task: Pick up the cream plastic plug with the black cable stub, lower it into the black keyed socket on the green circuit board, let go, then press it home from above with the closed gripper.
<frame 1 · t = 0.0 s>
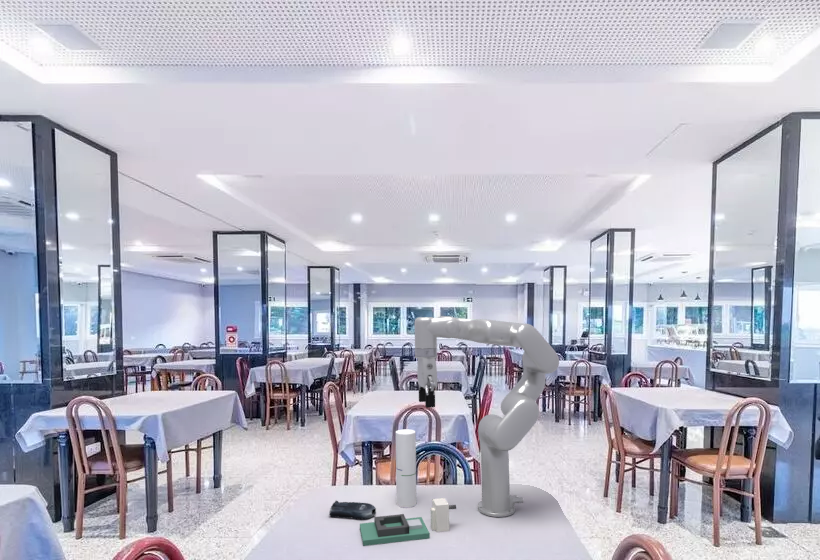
hand: (426, 404, 153), 37 cm above the table, tool pointing down, fingers open, 9 cm apart
electronic device: (353, 515, 153), on the table
keyed plug: (440, 528, 142), on the table
cylindrical container: (406, 504, 161), on the table
circuit board: (393, 533, 139), on the table
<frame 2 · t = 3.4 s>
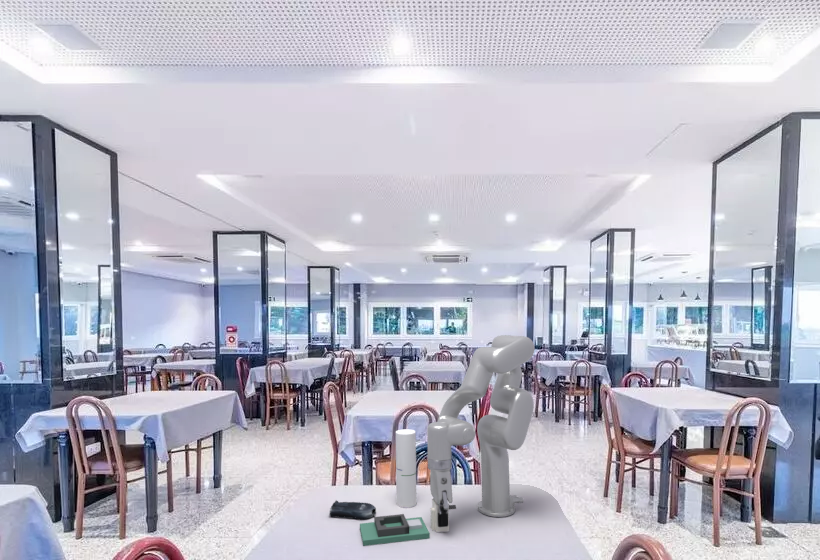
hand: (440, 521, 142), 2 cm above the table, tool pointing down, fingers closed on keyed plug, 4 cm apart
keyed plug: (440, 528, 142), on the table, touching gripper
everything else where it was.
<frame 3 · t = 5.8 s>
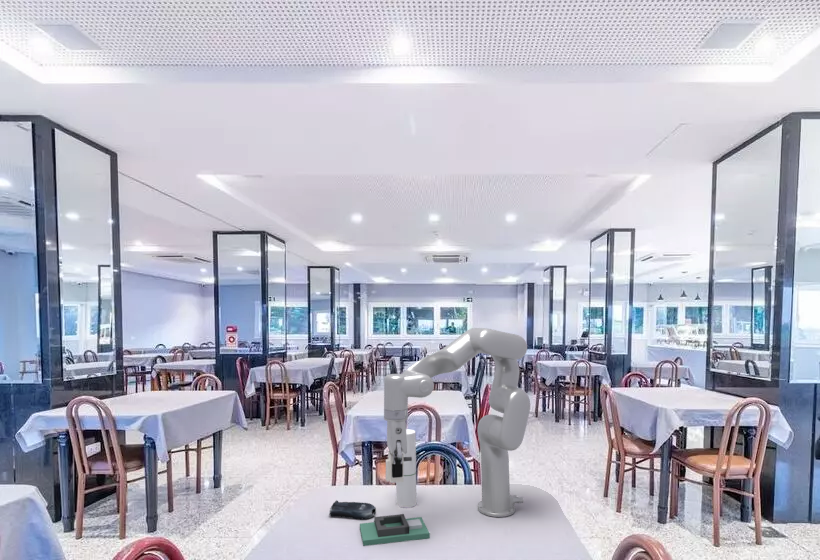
hand: (395, 473, 140), 18 cm above the table, tool pointing down, fingers closed on keyed plug, 4 cm apart
keyed plug: (395, 479, 140), point 16 cm above the table, touching gripper
everything else where it was.
when the fingers open (6 cm above the table, at t = 8.5 s): keyed plug drops 2 cm, resting on circuit board.
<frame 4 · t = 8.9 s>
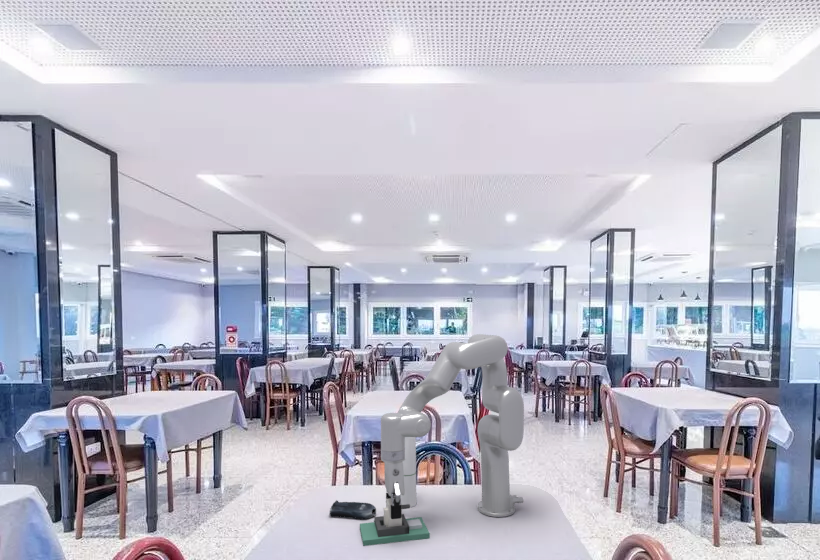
hand: (393, 511, 139), 6 cm above the table, tool pointing down, fingers open, 8 cm apart
keyed plug: (393, 528, 139), point 1 cm above the table, touching circuit board
everything else where it was.
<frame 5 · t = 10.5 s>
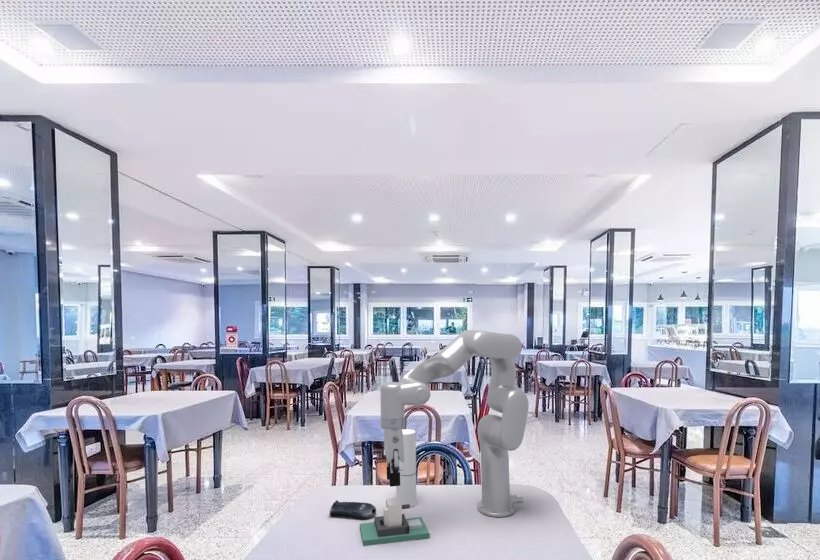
hand: (393, 481, 140), 15 cm above the table, tool pointing down, fingers open, 4 cm apart
nothing on the table moved.
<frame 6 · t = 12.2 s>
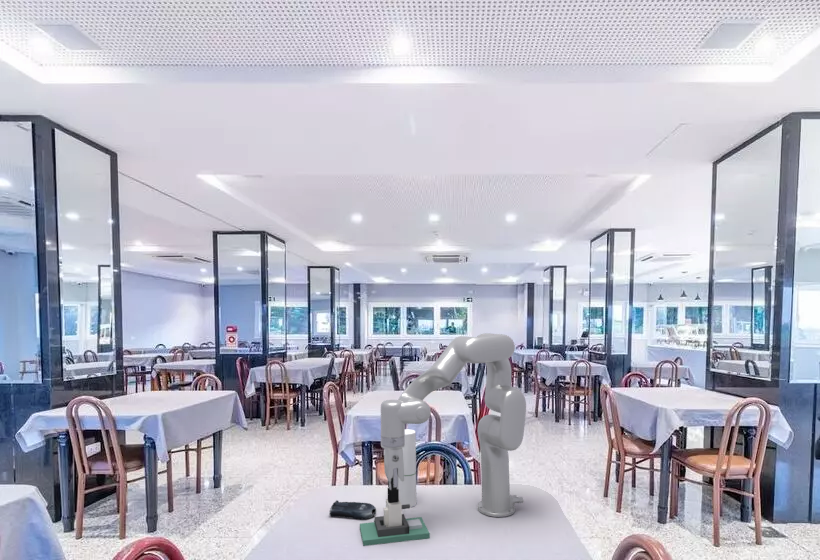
hand: (393, 501, 140), 10 cm above the table, tool pointing down, fingers closed
keyed plug: (393, 528, 139), point 2 cm above the table, touching circuit board, gripper
everything else where it was.
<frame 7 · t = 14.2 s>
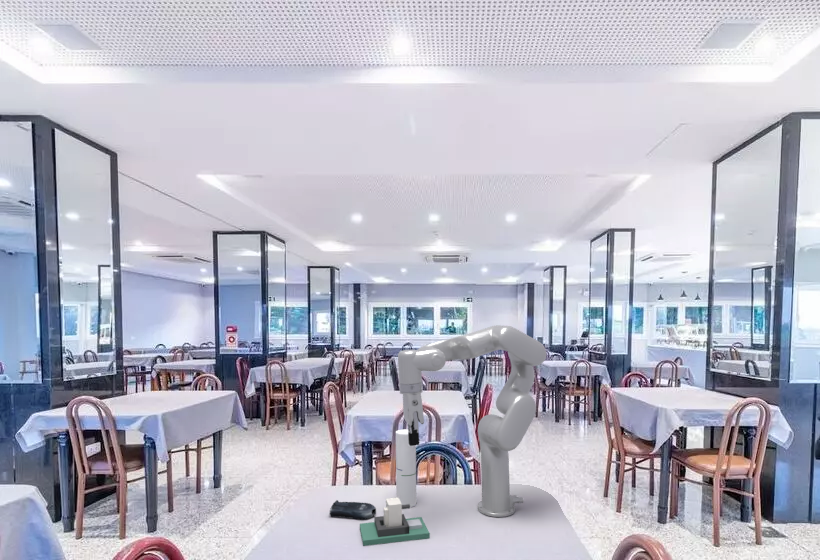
hand: (414, 444, 147), 25 cm above the table, tool pointing down, fingers closed
keyed plug: (393, 528, 139), point 1 cm above the table, touching circuit board
everything else where it was.
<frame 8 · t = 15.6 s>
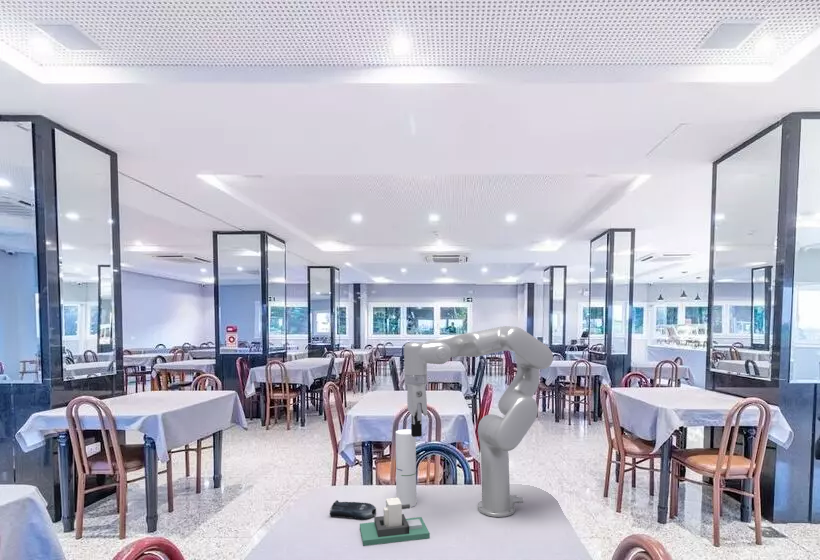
hand: (416, 435, 149), 27 cm above the table, tool pointing down, fingers closed
nothing on the table moved.
at the end: keyed plug 0.0 cm off-centre on the circuit board, point 1.5 cm above the circuit board's base; keyed plug tilted 0°; the gripper is holding nothing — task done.
